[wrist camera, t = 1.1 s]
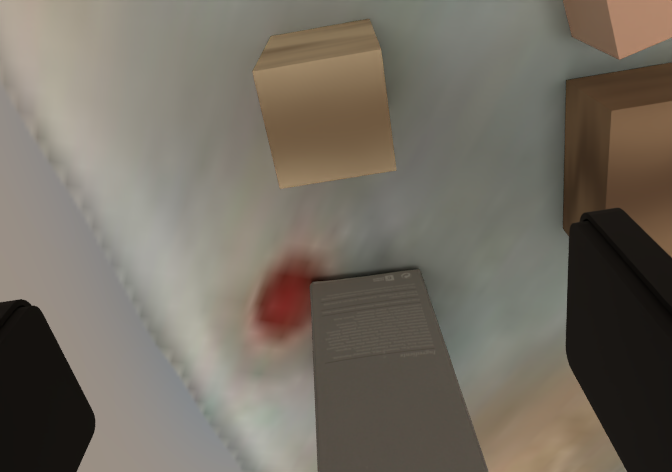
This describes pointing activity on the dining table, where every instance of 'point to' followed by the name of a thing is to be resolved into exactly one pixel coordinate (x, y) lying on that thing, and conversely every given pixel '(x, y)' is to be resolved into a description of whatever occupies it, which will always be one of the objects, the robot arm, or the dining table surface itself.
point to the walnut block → (621, 148)
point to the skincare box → (386, 380)
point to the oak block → (325, 104)
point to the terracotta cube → (620, 24)
